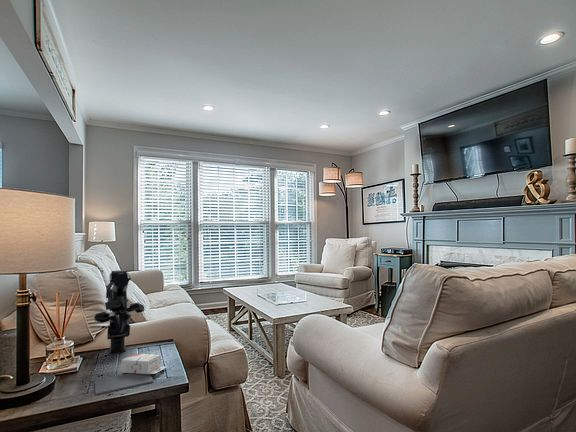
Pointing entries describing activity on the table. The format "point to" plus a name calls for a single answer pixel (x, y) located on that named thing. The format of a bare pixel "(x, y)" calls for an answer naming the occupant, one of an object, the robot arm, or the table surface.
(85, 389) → the table surface
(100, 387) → the charcoal mat
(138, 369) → the ink cartridge box
